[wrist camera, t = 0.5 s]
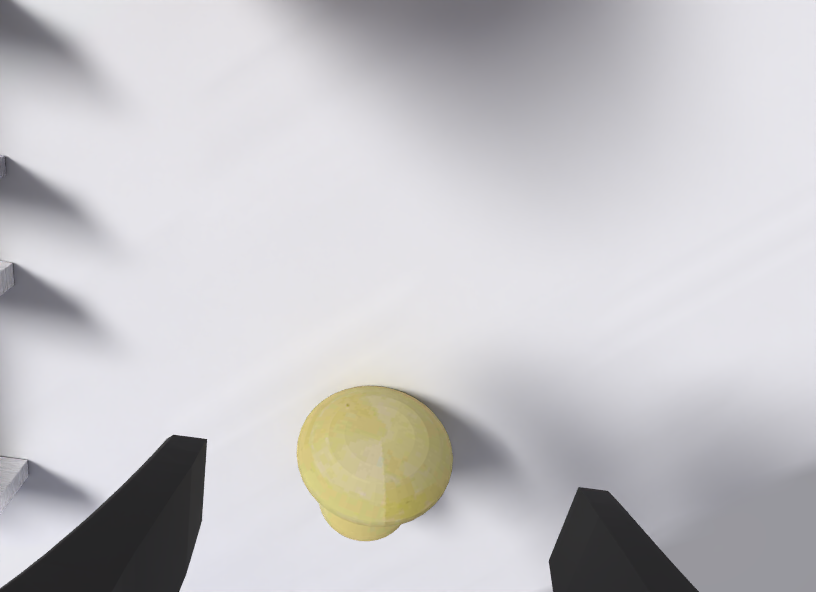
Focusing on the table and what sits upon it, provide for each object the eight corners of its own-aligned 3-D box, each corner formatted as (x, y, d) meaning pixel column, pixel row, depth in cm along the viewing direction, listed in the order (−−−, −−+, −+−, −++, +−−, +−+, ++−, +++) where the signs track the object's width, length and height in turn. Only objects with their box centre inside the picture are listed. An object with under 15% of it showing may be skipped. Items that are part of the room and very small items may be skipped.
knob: (310, 367, 22) (290, 464, 18) (452, 386, 23) (468, 484, 18) (297, 469, 24) (276, 579, 20) (428, 484, 25) (437, 594, 20)
